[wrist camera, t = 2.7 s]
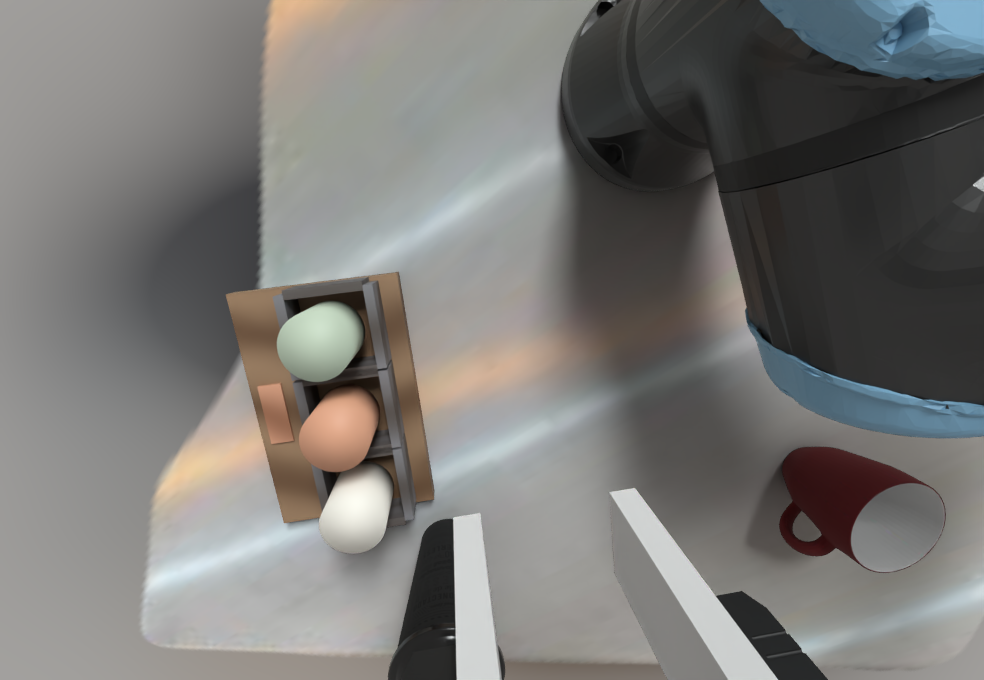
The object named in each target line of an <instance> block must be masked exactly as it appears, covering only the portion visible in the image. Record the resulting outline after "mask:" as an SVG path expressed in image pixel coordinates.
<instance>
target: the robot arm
mask: <svg viewBox="0 0 984 680" xmlns="http://www.w3.org/2000/svg"><path fill="white" fill-rule="evenodd" d="M562 106H563V112H564V117H565V121H566V125H567V128H568V131H569V133H570V136H571V138H572V140H573V142H574V144H575V146H576V148H577V150H578V151H579V153H580V154H581V155H582V157H583V158H584V159H585V161H586V162H587V163H588V164H589V165H590V166H591V167H592V168H593V169H594V170H595V171H596V172H597V173H599V174H600V175H601V176H603V177H604V178H606V179H607V180H609V181H611V182H613V183H615V184H617V185H619V186H622V187H625V188H628V189H632V190H637V191H662V190H667V189H672V188H677V187H681V186H685V185H688V184H691V183H693V182H695V181H698V180H700V179H702V178H704V177H705V176H707V175H709V174H710V173H712V172H715V176H716V180H717V184H718V190H719V191H718V192H719V196H720V200H721V204H722V208H723V212H724V216H725V220H726V224H727V228H728V232H729V236H730V240H731V244H732V248H733V252H734V256H735V260H736V264H737V268H738V272H739V276H740V280H741V284H742V288H743V293H744V297H745V302H746V306H747V308H746V309H745V314H746V320H747V323H748V327H749V329H750V331H751V333H752V334H753V336H754V337H755V339H756V342H757V345H758V348H759V351H760V354H761V357H762V361H763V364H764V367H765V369H766V372H767V374H768V375H769V377H770V379H771V380H772V381H773V383H774V384H775V385H776V386H777V387H778V388H779V389H780V390H781V391H782V392H783V393H785V394H787V395H788V396H790V397H792V398H794V399H795V401H797V402H798V403H799V404H800V405H801V406H803V407H805V408H806V409H808V410H810V411H813V412H815V413H817V414H819V415H821V416H824V417H826V418H829V419H832V420H835V421H838V422H841V423H844V424H847V425H850V426H854V427H858V428H862V429H867V430H871V431H876V432H882V433H888V434H894V435H902V436H910V437H923V438H970V437H981V436H984V0H599V1H598V2H597V3H596V4H595V5H594V7H593V8H592V9H591V11H590V12H589V14H588V15H587V17H586V18H585V20H584V21H583V23H582V25H581V26H580V28H579V29H578V31H577V33H576V35H575V37H574V39H573V41H572V43H571V46H570V48H569V51H568V54H567V57H566V61H565V65H564V70H563V76H562ZM609 494H610V510H611V527H612V543H613V559H614V573H615V575H616V577H617V579H618V581H619V583H620V585H621V587H622V589H623V591H624V593H625V595H626V597H627V599H628V601H629V603H630V605H631V607H632V609H633V611H634V613H635V615H636V617H637V619H638V622H639V624H640V626H641V628H642V630H643V632H644V634H645V636H646V638H647V640H648V642H649V644H650V646H651V648H652V650H653V652H654V654H655V656H656V658H657V660H658V662H659V664H660V666H661V668H662V670H663V672H664V674H665V676H666V678H667V680H828V679H827V678H826V677H825V676H824V674H823V673H822V672H821V671H820V670H819V669H818V667H817V666H816V665H815V664H814V663H813V662H812V660H811V659H810V658H809V657H808V656H807V655H806V654H805V653H803V652H802V650H801V648H800V647H799V645H798V644H797V643H796V642H795V641H794V640H793V638H792V637H791V636H790V635H789V634H788V635H787V633H786V631H785V629H784V628H783V627H782V626H781V624H780V623H779V622H778V621H777V620H776V619H775V617H774V616H773V615H772V614H771V613H770V612H769V610H768V609H767V608H766V607H764V606H763V605H761V604H760V603H758V602H757V601H755V600H754V599H752V598H751V597H750V596H748V595H747V594H745V593H744V592H742V591H741V592H735V593H730V594H724V595H718V596H715V595H714V593H713V592H712V591H711V589H710V588H709V586H708V585H707V584H706V582H705V581H704V580H703V578H702V577H701V576H700V574H699V573H698V572H697V570H696V569H695V568H694V566H693V565H692V564H691V562H690V561H689V560H688V558H687V557H686V556H685V554H684V553H683V552H682V550H681V549H680V548H679V546H678V545H677V544H676V542H675V541H674V540H673V538H672V537H671V536H670V534H669V533H668V532H667V530H666V529H665V528H664V526H663V525H662V523H661V522H660V521H659V519H658V518H657V517H656V515H655V514H654V513H653V511H652V510H651V509H650V507H649V506H648V505H647V503H646V502H645V501H644V499H643V498H642V497H641V495H640V494H639V493H638V491H637V490H636V489H635V488H632V489H626V490H620V491H613V492H609ZM453 531H454V577H455V623H456V644H455V645H450V646H444V647H439V648H433V649H428V650H422V651H417V652H413V654H412V656H411V658H410V660H409V662H408V664H407V666H406V668H405V670H404V673H403V675H402V677H401V680H502V676H501V668H500V660H499V652H498V644H497V636H496V628H495V620H494V612H493V604H492V596H491V588H490V581H489V574H488V566H487V559H486V552H485V545H484V538H483V530H482V523H481V516H480V513H477V514H471V515H465V516H459V517H453Z"/></svg>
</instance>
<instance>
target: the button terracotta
mask: <svg viewBox="0 0 984 680" xmlns="http://www.w3.org/2000/svg"><path fill="white" fill-rule="evenodd" d="M379 419H380V407H379V404H378V401H377V399H376V398H375V397H374V395H373V394H372V393H371V392H370V391H368V390H367V389H365V388H363V387H361V386H358V385H352V384H347V385H340V386H337V387H335V388H333V389H332V390H330V391H329V392H328V393H327V394H326V395H325V396H324V398H323V399H322V400H321V401H320V403H319V404H318V405H317V407H316V408H315V409H314V411H313V412H312V413H311V415H310V416H309V417H308V418H307V420H306V421H305V422H304V424H303V426H302V428H301V430H300V434H299V445H300V449H301V451H302V453H303V455H304V457H305V458H306V459H307V460H308V461H309V462H310V463H311V464H312V465H314V466H315V467H317V468H319V469H321V470H324V471H329V472H342V471H346V470H349V469H352V468H354V467H355V466H357V465H358V464H359V463H360V462H361V461H362V460H363V459H364V458H365V456H366V454H367V452H368V450H369V447H370V444H371V442H372V439H373V436H374V433H375V431H376V428H377V425H378V423H379Z"/></svg>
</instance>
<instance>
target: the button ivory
mask: <svg viewBox="0 0 984 680" xmlns="http://www.w3.org/2000/svg"><path fill="white" fill-rule="evenodd" d="M393 492H394V482H393V478H392V476H391V474H390V473H389V472H388V470H386V469H385V468H384V467H383V466H381V465H379V464H377V463H374V462H370V461H361V462H360V463H359V464H358V465H357V466H355V467H354V468H352V469H349V470H346V471H342V472H341V473H340V474H339V476H338V478H337V481H336V483H335V485H334V487H333V489H332V492H331V494H330V496H329V498H328V501H327V503H326V505H325V507H324V509H323V512H322V514H321V516H320V520H319V530H320V534H321V536H322V538H323V539H324V541H325V542H326V543H327V544H328V545H329V546H330V547H332V548H333V549H335V550H337V551H339V552H343V553H348V554H357V553H362V552H366V551H368V550H370V549H372V548H373V547H375V546H376V545H377V544H378V543H379V542H380V541H381V539H382V538H383V536H384V533H385V530H386V525H387V521H388V516H389V511H390V506H391V501H392V497H393Z"/></svg>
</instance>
